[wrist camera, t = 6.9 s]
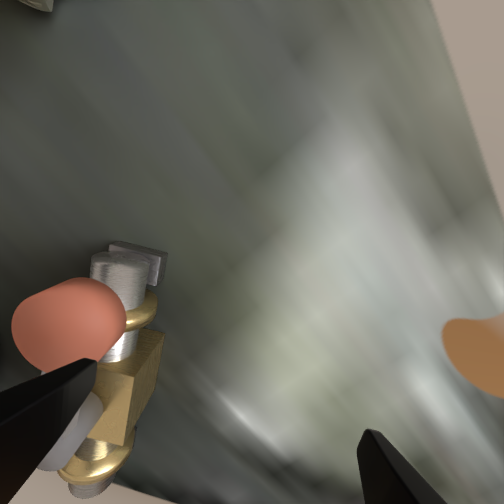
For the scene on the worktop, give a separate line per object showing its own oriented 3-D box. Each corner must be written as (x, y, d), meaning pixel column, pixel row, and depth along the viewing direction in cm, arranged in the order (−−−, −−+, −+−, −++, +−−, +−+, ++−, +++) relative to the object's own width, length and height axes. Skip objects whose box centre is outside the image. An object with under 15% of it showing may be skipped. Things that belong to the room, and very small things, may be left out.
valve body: (143, 448, 26) (107, 524, 20) (84, 434, 26) (31, 505, 20) (179, 256, 21) (146, 281, 15) (107, 237, 21) (46, 255, 15)
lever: (110, 431, 18) (72, 491, 14) (49, 412, 18) (-5, 467, 14) (146, 282, 15) (110, 310, 12) (74, 259, 15) (16, 280, 12)
